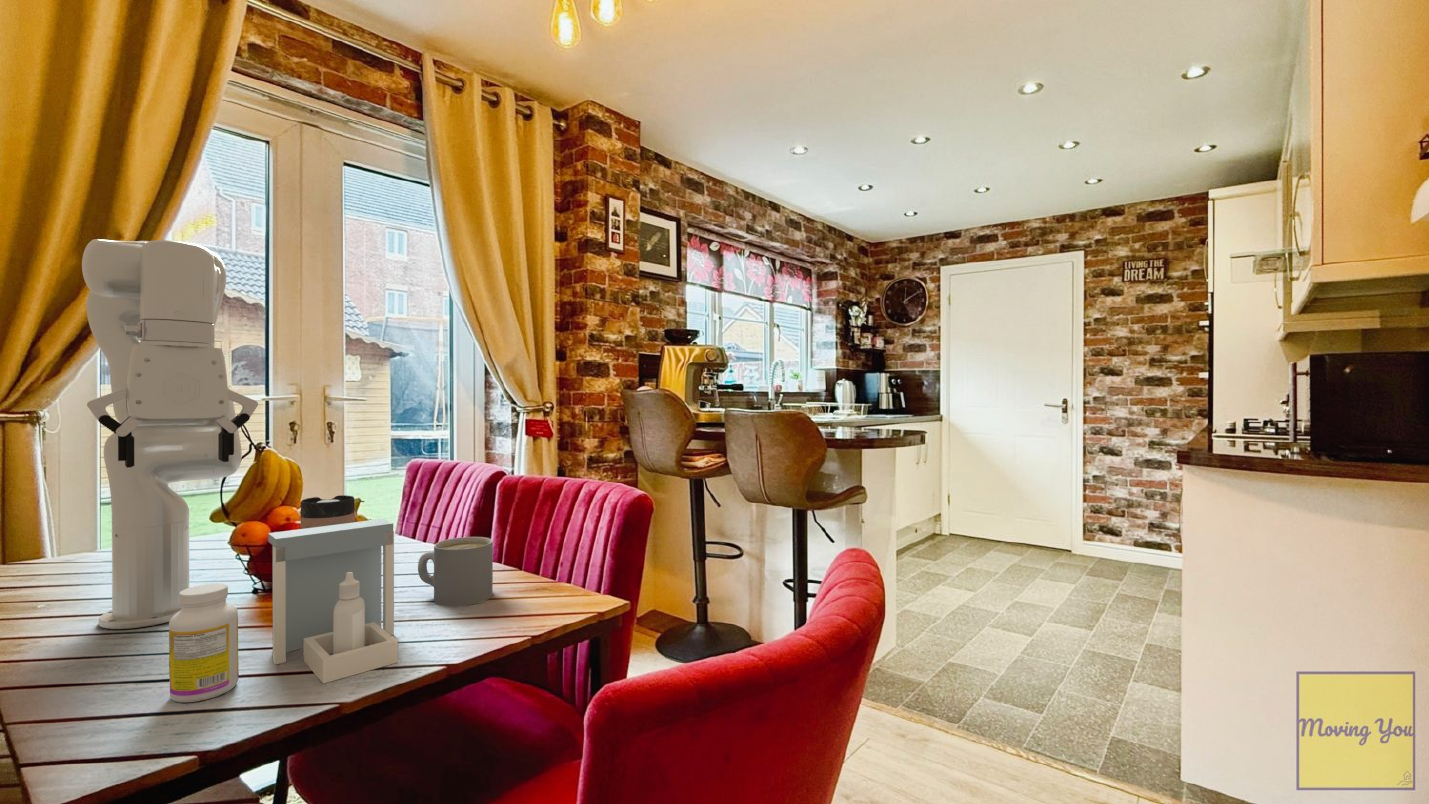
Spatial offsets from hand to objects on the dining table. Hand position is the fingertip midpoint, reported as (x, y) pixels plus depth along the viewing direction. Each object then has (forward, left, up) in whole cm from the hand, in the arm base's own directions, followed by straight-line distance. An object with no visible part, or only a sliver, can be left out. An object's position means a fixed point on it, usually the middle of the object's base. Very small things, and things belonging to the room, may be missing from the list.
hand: (178, 463), depth 84 cm
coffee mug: (-4, +39, -28) cm, 48 cm away
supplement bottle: (+11, +2, -28) cm, 30 cm away
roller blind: (+5, +17, -28) cm, 33 cm away
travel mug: (-6, +19, -28) cm, 34 cm away
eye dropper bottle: (+14, +17, -28) cm, 35 cm away
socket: (+14, +17, -28) cm, 35 cm away
